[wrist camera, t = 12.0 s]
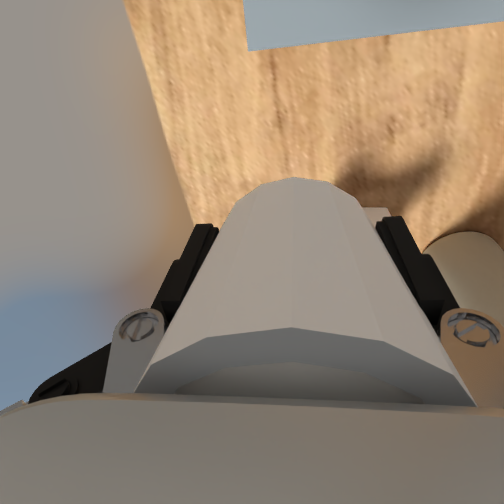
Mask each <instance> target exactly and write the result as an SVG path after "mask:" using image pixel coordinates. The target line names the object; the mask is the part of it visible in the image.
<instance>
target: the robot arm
mask: <svg viewBox="0 0 504 504" xmlns="http://www.w3.org/2000/svg"><path fill="white" fill-rule="evenodd" d="M375 229H376V230H377V232H378V234H379V236H380V238H381V240H382V241H383V243H384V245H385V247H386V249H387V251H388V252H389V254H390V256H391V258H392V260H393V262H394V263H395V265H396V267H397V269H398V270H399V272H400V274H401V276H402V277H403V279H404V281H405V283H406V284H407V286H408V288H409V289H410V291H411V293H412V295H413V296H414V298H415V299H416V301H417V303H418V305H419V306H420V308H421V309H422V311H423V312H424V313H425V315H426V317H427V318H428V320H429V322H430V323H431V325H432V327H433V329H434V330H435V332H436V334H437V336H438V337H439V340H440V342H441V344H442V346H443V347H444V349H445V351H446V353H447V354H448V356H449V358H450V359H451V361H452V363H453V365H454V366H455V368H456V370H457V372H458V373H459V375H460V377H461V378H462V380H463V382H464V384H465V385H466V387H467V389H468V391H469V392H470V394H471V396H472V397H473V399H474V401H475V403H476V404H477V406H478V407H468V406H451V405H432V404H409V403H387V402H364V401H342V400H317V399H292V398H266V397H240V396H211V395H182V394H149V393H134V391H135V389H136V387H137V385H138V383H139V381H140V379H141V378H142V376H143V374H144V372H145V370H146V368H147V366H148V364H149V363H150V361H151V359H152V357H153V355H154V353H155V351H156V349H157V348H158V346H159V344H160V342H161V340H162V338H163V336H164V334H165V332H166V330H167V329H168V327H169V325H170V323H171V321H172V319H173V317H174V315H175V314H176V312H177V310H178V308H179V307H180V305H181V303H182V301H183V299H184V297H185V296H186V294H187V292H188V290H189V288H190V286H191V284H192V283H193V281H194V279H195V277H196V275H197V273H198V271H199V269H200V268H201V266H202V264H203V262H204V260H205V258H206V256H207V254H208V252H209V250H210V249H211V247H212V245H213V243H214V241H215V239H216V237H217V235H218V233H219V229H218V227H213V224H196V225H195V227H194V230H193V232H192V234H191V236H190V238H189V240H188V242H187V245H186V247H185V249H184V251H183V253H182V255H181V257H180V259H179V260H174V262H173V263H172V265H171V267H170V269H169V271H168V273H167V275H166V277H165V280H164V282H163V283H162V286H161V288H160V290H159V292H158V294H157V296H156V298H155V300H154V302H153V304H152V306H151V308H146V309H139V310H136V311H134V312H131V313H130V314H128V315H126V316H125V317H124V318H122V319H121V320H120V321H119V323H118V324H117V325H116V327H115V330H114V332H113V338H112V342H111V343H109V344H108V345H106V346H104V347H103V348H101V349H99V350H97V351H96V352H94V353H92V354H90V355H89V356H87V357H85V358H83V359H82V360H80V361H78V362H76V363H75V364H73V365H71V366H69V367H68V368H66V369H64V370H63V371H61V372H59V373H57V374H55V375H54V376H52V377H50V378H49V379H48V380H46V381H45V382H43V383H42V384H41V385H40V386H39V387H38V388H37V389H36V390H35V391H34V393H33V394H32V396H31V397H30V399H29V401H28V402H26V403H25V402H24V401H23V400H20V401H18V402H17V403H15V404H13V405H11V406H9V407H7V408H5V409H3V410H2V411H0V504H504V327H503V326H502V325H501V324H500V323H499V322H498V321H497V320H495V319H494V318H492V317H491V316H489V315H487V314H485V313H483V312H480V311H476V310H473V309H466V308H460V307H459V305H458V303H457V301H456V299H455V298H454V296H453V294H452V292H451V290H450V288H449V287H448V285H447V283H446V281H445V279H444V278H443V276H442V274H441V272H440V270H439V269H438V267H437V265H436V263H435V261H434V260H433V258H432V256H431V255H430V254H421V252H420V251H419V249H418V247H417V245H416V243H415V241H414V239H413V237H412V235H411V233H410V231H409V229H408V227H407V225H406V223H405V221H404V220H403V218H402V216H390V217H383V218H382V221H377V222H376V226H375Z"/></svg>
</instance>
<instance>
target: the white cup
mask: <svg viewBox="0 0 504 504" xmlns="http://www.w3.org/2000/svg"><path fill="white" fill-rule="evenodd" d="M134 393H149V394H182V395H211V396H240V397H266V398H292V399H317V400H342V401H364V402H387V403H409V404H432V405H451V406H468V407H478V406H477V404H476V403H475V401H474V399H473V397H472V396H471V394H470V392H469V391H468V389H467V387H466V385H465V384H464V382H463V380H462V378H461V377H460V375H459V373H458V372H457V370H456V368H455V366H454V365H453V363H452V361H451V359H450V358H449V356H448V354H447V353H446V351H445V349H444V347H443V346H442V344H441V342H440V340H439V337H438V336H437V334H436V332H435V330H434V329H433V327H432V325H431V323H430V322H429V320H428V318H427V317H426V315H425V313H424V312H423V311H422V309H421V308H420V306H419V305H418V303H417V301H416V299H415V298H414V296H413V295H412V293H411V291H410V289H409V288H408V286H407V284H406V283H405V281H404V279H403V277H402V276H401V274H400V272H399V270H398V269H397V267H396V265H395V263H394V262H393V260H392V258H391V256H390V254H389V252H388V251H387V249H386V247H385V245H384V243H383V241H382V240H381V238H380V236H379V234H378V232H377V230H376V229H375V227H374V225H373V223H372V221H371V220H370V218H369V217H368V216H367V214H366V213H365V211H364V210H363V208H362V207H361V205H360V204H359V202H358V201H357V199H356V198H355V197H353V196H351V195H350V194H348V193H346V192H344V191H343V190H341V189H339V188H338V187H336V186H334V185H332V184H331V183H329V182H326V181H319V180H312V179H305V178H297V177H292V178H287V179H283V180H279V181H274V182H270V183H266V184H261V185H260V186H258V187H257V188H255V189H254V190H253V191H251V192H250V193H248V194H247V195H245V196H244V197H243V198H241V199H240V200H238V201H237V202H236V203H235V205H234V206H233V208H232V210H231V212H230V213H229V215H228V217H227V219H226V220H225V222H224V224H223V225H222V227H221V229H220V231H219V233H218V235H217V237H216V239H215V241H214V243H213V245H212V247H211V249H210V250H209V252H208V254H207V256H206V258H205V260H204V262H203V264H202V266H201V268H200V269H199V271H198V273H197V275H196V277H195V279H194V281H193V283H192V284H191V286H190V288H189V290H188V292H187V294H186V296H185V297H184V299H183V301H182V303H181V305H180V307H179V308H178V310H177V312H176V314H175V315H174V317H173V319H172V321H171V323H170V325H169V327H168V329H167V330H166V332H165V334H164V336H163V338H162V340H161V342H160V344H159V346H158V348H157V349H156V351H155V353H154V355H153V357H152V359H151V361H150V363H149V364H148V366H147V368H146V370H145V372H144V374H143V376H142V378H141V379H140V381H139V383H138V385H137V387H136V389H135V391H134Z"/></svg>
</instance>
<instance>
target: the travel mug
mask: <svg viewBox="0 0 504 504" xmlns="http://www.w3.org/2000/svg"><path fill="white" fill-rule="evenodd" d="M423 254H430V255H431V256H432V258H433V260H434V261H435V263H436V265H437V267H438V269H439V270H440V272H441V274H442V276H443V278H444V279H445V281H446V283H447V285H448V287H449V288H450V290H451V292H452V294H453V296H454V298H455V299H456V301H457V303H458V305H459V307H460V308H466V309H473V310H476V311H480V312H483V313H485V314H487V315H489V316H491V317H492V318H494V319H495V320H497V321H498V322H499V323H500V324H501V325H502V326H503V327H504V251H503V250H502V248H501V247H500V246H499V245H498V244H497V243H496V242H495V241H494V240H493V239H492V238H491V237H489V236H487V235H485V234H482V233H478V232H459V233H454V234H451V235H448V236H445V237H443V238H441V239H439V240H437V241H436V242H434V243H433V244H431V245H430V246H429V247H428V248H427V249H426V250H425V251H424V252H423Z"/></svg>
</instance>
